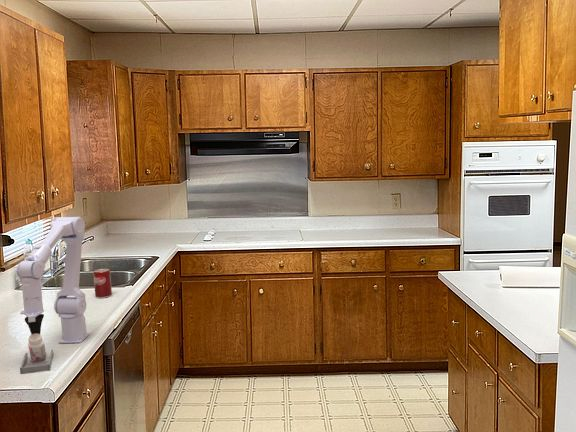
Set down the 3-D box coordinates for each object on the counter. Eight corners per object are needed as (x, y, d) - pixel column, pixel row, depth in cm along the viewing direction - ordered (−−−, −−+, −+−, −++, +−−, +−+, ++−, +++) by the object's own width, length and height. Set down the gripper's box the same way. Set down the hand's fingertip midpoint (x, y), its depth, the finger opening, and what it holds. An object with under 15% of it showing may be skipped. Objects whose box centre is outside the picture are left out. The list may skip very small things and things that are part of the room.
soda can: (103, 299, 291) (101, 272, 289) (91, 297, 294) (89, 271, 293) (115, 295, 297) (113, 269, 295) (104, 293, 300) (102, 267, 299)
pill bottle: (28, 361, 214) (24, 341, 210) (35, 351, 218) (31, 331, 214) (42, 363, 213) (38, 342, 209) (48, 353, 217) (45, 333, 213)
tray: (26, 357, 218) (25, 352, 217) (53, 354, 220) (53, 349, 220) (20, 373, 203) (19, 368, 203) (49, 370, 205) (49, 364, 205)
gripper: (22, 293, 219) (25, 332, 220) (16, 303, 205) (20, 345, 206) (44, 291, 220) (48, 330, 222) (40, 301, 207) (44, 343, 208)
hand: (36, 337), depth 214 cm, fingers closed, pressing on pill bottle
